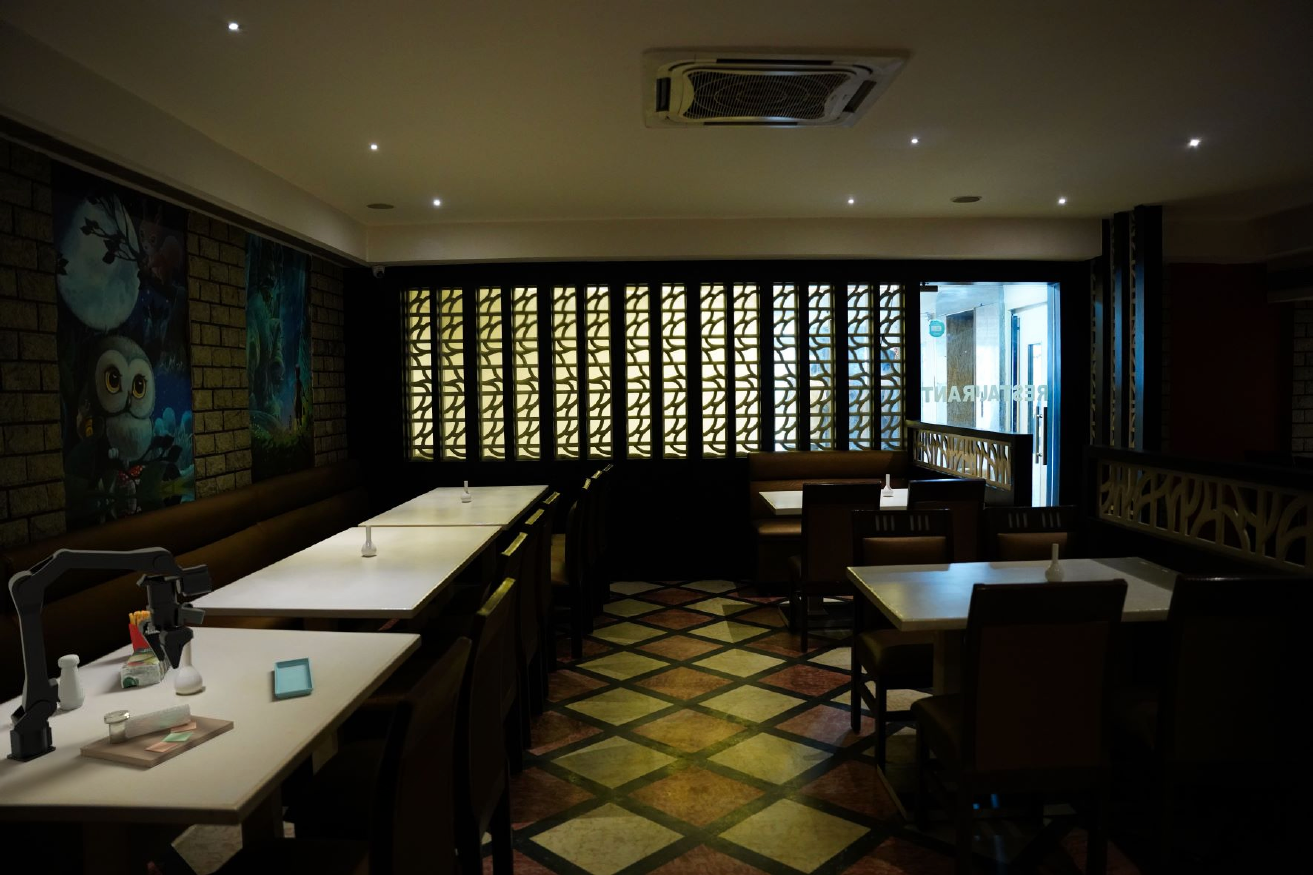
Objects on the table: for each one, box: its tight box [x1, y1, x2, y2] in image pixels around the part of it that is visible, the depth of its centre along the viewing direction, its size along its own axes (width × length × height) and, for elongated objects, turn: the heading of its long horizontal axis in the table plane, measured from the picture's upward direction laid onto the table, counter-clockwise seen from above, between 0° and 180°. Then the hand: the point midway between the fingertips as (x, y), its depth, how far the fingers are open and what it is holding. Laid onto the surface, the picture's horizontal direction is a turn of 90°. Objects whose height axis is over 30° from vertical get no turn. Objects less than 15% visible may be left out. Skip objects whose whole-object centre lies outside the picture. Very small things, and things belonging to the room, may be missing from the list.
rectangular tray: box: [274, 657, 315, 700], centre depth 224 cm, size 26×9×2 cm, turn 25°
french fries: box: [128, 610, 150, 653], centre depth 252 cm, size 9×4×13 cm, turn 105°
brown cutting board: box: [79, 714, 235, 768], centre depth 187 cm, size 21×21×2 cm
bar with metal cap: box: [103, 704, 191, 743], centre depth 187 cm, size 16×5×6 cm, turn 130°
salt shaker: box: [57, 654, 86, 711], centre depth 209 cm, size 6×6×13 cm
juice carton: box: [119, 647, 172, 689], centre depth 232 cm, size 20×10×6 cm, turn 21°
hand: (168, 664), depth 199 cm, fingers open, 9 cm apart
